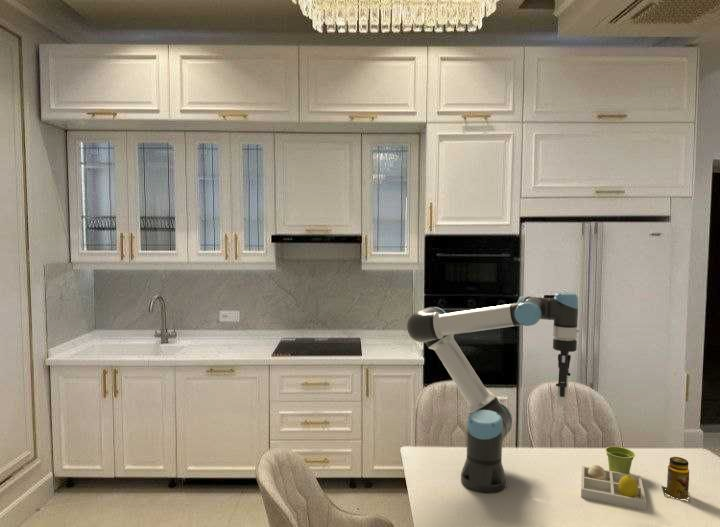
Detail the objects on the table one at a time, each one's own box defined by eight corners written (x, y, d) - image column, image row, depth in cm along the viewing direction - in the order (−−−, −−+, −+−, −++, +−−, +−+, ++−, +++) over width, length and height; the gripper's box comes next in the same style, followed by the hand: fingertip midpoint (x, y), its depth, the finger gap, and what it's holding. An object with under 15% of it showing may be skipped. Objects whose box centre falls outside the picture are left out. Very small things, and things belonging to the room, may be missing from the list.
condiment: (689, 502, 166) (691, 465, 165) (659, 495, 170) (661, 459, 170) (688, 492, 172) (690, 457, 172) (659, 486, 177) (660, 452, 176)
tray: (580, 499, 167) (581, 488, 167) (581, 475, 184) (581, 465, 184) (645, 512, 160) (646, 501, 159) (640, 486, 176) (640, 476, 176)
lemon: (640, 504, 162) (641, 480, 162) (621, 503, 163) (622, 478, 163) (634, 496, 168) (635, 472, 167) (615, 494, 169) (616, 470, 168)
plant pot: (640, 480, 180) (641, 456, 180) (615, 482, 179) (616, 458, 178) (622, 468, 190) (623, 445, 189) (598, 470, 188) (599, 447, 188)
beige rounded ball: (587, 483, 176) (588, 467, 176) (587, 476, 181) (588, 461, 181) (606, 487, 174) (606, 470, 173) (605, 480, 179) (606, 464, 179)
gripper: (576, 346, 163) (573, 412, 165) (577, 333, 186) (575, 391, 187) (550, 344, 166) (548, 409, 168) (555, 331, 189) (553, 388, 190)
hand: (562, 399), depth 177 cm, fingers open, 13 cm apart
